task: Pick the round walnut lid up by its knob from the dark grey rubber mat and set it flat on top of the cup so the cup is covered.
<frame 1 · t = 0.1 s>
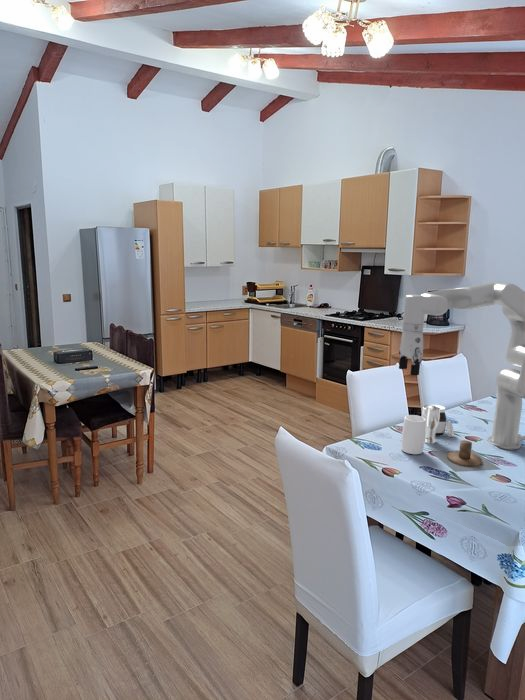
hand: (408, 371, 198), 31 cm above the table, tool pointing down, fingers open, 9 cm apart
mat: (463, 462, 193), on the table
cup: (411, 453, 200), on the table
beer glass: (427, 442, 212), on the table
lid: (464, 460, 193), point 1 cm above the table, touching mat
spread jar: (439, 434, 222), on the table
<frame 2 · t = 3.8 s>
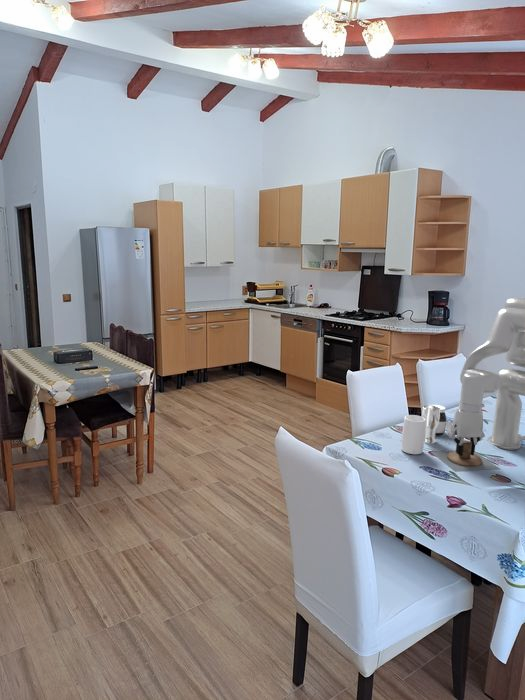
hand: (464, 453, 192), 3 cm above the table, tool pointing down, fingers closed on lid, 4 cm apart
lid: (464, 460, 193), point 1 cm above the table, touching gripper, mat
everything else where it was.
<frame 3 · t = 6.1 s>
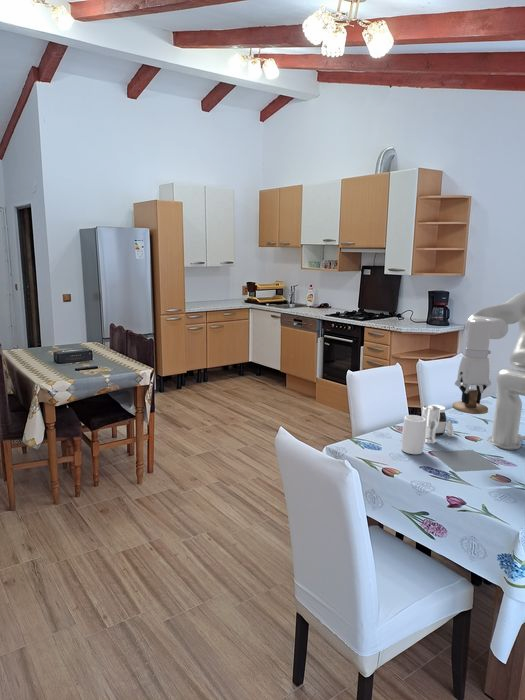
hand: (470, 402, 189), 23 cm above the table, tool pointing down, fingers closed on lid, 4 cm apart
lid: (470, 408, 189), point 21 cm above the table, touching gripper
everything else where it was.
when the fingers open (18 cm above the table, at t = 8.9 s): lid drops 1 cm, resting on cup.
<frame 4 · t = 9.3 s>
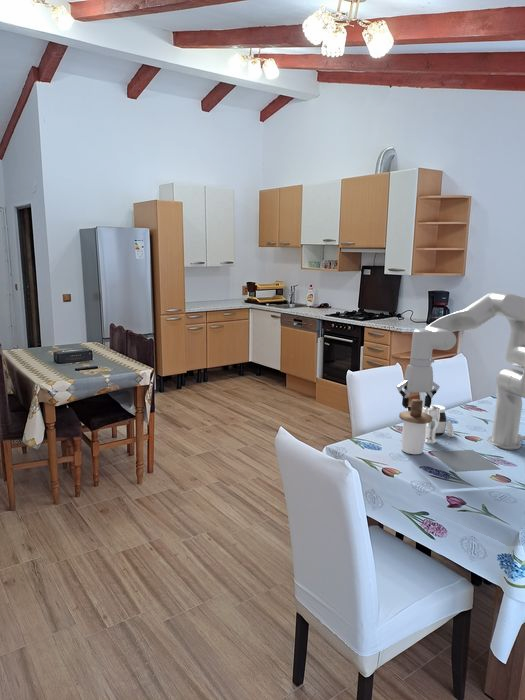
hand: (416, 406, 196), 19 cm above the table, tool pointing down, fingers open, 8 cm apart
cup: (411, 453, 200), on the table, touching lid
lid: (415, 418, 197), point 14 cm above the table, touching cup
everything else where it was.
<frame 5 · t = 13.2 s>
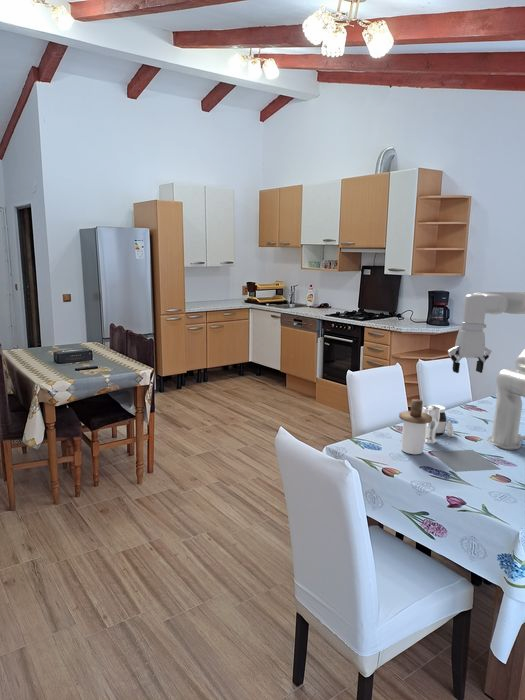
hand: (467, 372, 196), 32 cm above the table, tool pointing down, fingers open, 9 cm apart
nothing on the table moved.
at the end: lid 0.1 cm off-centre on the cup, point 14.4 cm above the cup's base; lid tilted 0°; cup tilted 0° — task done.
